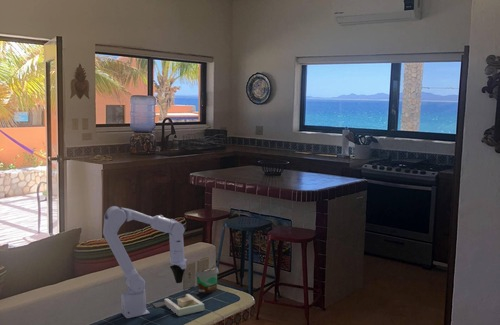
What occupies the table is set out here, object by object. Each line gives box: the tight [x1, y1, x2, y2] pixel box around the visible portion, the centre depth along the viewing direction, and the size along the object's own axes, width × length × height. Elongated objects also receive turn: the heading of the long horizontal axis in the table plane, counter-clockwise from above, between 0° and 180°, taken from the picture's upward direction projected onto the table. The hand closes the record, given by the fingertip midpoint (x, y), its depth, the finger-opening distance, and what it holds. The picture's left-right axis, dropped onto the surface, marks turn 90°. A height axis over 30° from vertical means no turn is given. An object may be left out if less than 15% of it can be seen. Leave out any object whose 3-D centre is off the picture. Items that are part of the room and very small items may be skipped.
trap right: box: [190, 294, 201, 300], centre depth 231 cm, size 4×6×1 cm
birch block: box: [177, 296, 194, 308], centre depth 218 cm, size 5×5×4 cm
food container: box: [195, 265, 219, 294], centre depth 239 cm, size 12×6×10 cm, turn 143°
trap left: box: [151, 301, 167, 309], centre depth 224 cm, size 4×6×1 cm
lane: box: [163, 293, 205, 317], centre depth 219 cm, size 11×16×2 cm, turn 28°
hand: (179, 282), depth 223 cm, fingers closed
